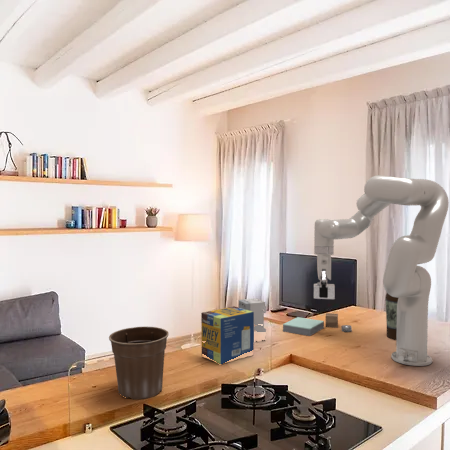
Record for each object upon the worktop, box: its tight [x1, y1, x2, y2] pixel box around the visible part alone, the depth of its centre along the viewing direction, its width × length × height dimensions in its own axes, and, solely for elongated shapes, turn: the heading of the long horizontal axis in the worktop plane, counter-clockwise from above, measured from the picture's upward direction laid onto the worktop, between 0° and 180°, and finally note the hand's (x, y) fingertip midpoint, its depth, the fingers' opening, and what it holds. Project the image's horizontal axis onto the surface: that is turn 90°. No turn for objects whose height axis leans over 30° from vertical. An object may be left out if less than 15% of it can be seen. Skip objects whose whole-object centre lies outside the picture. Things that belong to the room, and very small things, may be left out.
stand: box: [282, 316, 325, 337], centre depth 189 cm, size 14×12×3 cm
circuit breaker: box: [238, 298, 267, 333], centre depth 175 cm, size 8×14×15 cm, turn 111°
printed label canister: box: [385, 292, 398, 341], centre depth 178 cm, size 11×11×25 cm
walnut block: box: [325, 312, 339, 329], centre depth 195 cm, size 5×5×5 cm
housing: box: [313, 281, 336, 300], centre depth 181 cm, size 5×8×6 cm, turn 78°
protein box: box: [200, 305, 255, 365], centre depth 156 cm, size 10×15×16 cm
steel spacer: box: [341, 324, 353, 333], centre depth 187 cm, size 4×4×2 cm
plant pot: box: [108, 326, 169, 400], centre depth 127 cm, size 16×16×16 cm
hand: (323, 295), depth 181 cm, fingers closed on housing, 5 cm apart
